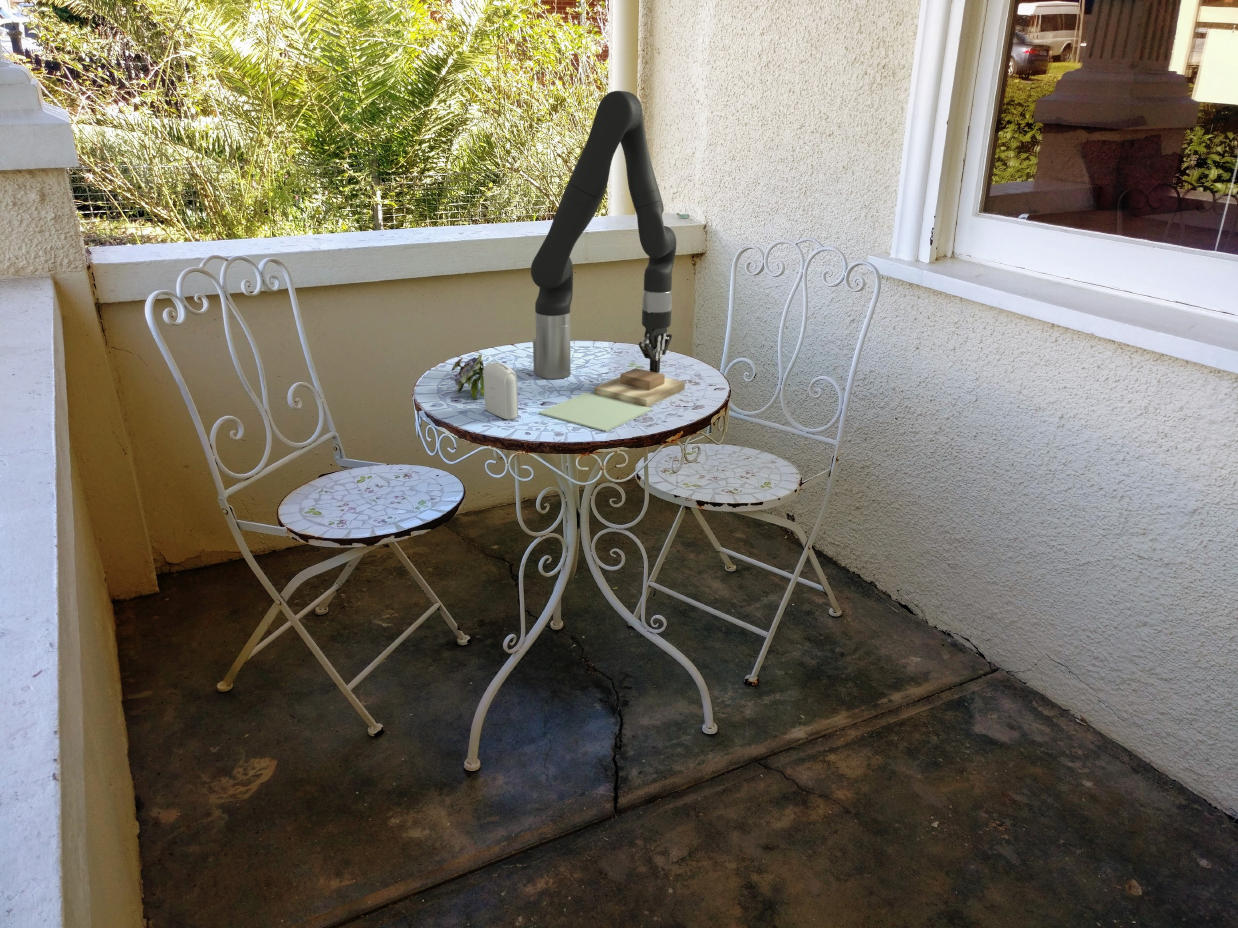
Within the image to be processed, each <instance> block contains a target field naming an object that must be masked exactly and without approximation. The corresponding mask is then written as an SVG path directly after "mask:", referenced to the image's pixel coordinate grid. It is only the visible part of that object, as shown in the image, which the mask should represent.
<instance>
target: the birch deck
mask: <svg viewBox="0 0 1238 928" xmlns="http://www.w3.org/2000/svg"><path fill="white" fill-rule="evenodd" d="M685 388H686V382H684V381H681V380H678V379H677V380H676V379H673V378H667V377H665V379H664V384H663V385H661V386H658V387H656V388H654V389H652V390H650V391H649V390H645V389H641V388H636V387H632V386H628V385H624V384H620V376H618V377H616V378H613V379H612V380H609V381H606V382H604V383H601V384H599V385H596V386H594V387H593V394H596V395H600V396H604V397H608V398H612V399H616V400H620V401H624V402H628V403H633V404H637V405H641V406H645V407H649V408H650V406H651V407H652V406H653V405H655V404H657V403H659V402H662V401H663V400H666V399H668V398H671V397H672V396H674V395H676V394H678V393H680V392H683V391H684V390H685Z"/></svg>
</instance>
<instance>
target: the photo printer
mask: <svg viewBox="0 0 1238 928" xmlns="http://www.w3.org/2000/svg"><path fill="white" fill-rule="evenodd" d="M483 379H484V408H485V410H486V411H488V412H489V413H491V414H493V415H495V416H497V417H499V418H502V419H504V420H514V419H516V418H517V417H518V416H519V400H518V399H519V397H518V377H517V374H516V373H515V371H514V370H513V369H512V368H510V367H509V366H507V364H504V363H502V362H497V361H494V362H489V363H487V364H485V365H484V370H483Z"/></svg>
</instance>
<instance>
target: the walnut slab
mask: <svg viewBox="0 0 1238 928" xmlns="http://www.w3.org/2000/svg"><path fill="white" fill-rule="evenodd" d="M665 375H666V374H663V373H660V372H659V373H655V372H651V371H650V370H646V369H641V368H632V369H629V370H627V371H626V372H623V373H621V374H620V375H619V377H620V384H624V385H628V386H632V387H636V388H641V389H645V390H649V391H650V390H652V389H654V388H656V387H658V386H661V385H663V384H664V379H665V378H666V377H665Z"/></svg>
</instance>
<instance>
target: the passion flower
mask: <svg viewBox="0 0 1238 928" xmlns="http://www.w3.org/2000/svg"><path fill="white" fill-rule="evenodd" d="M482 356H483V355H482V353H481V354H478V356H477V357H476V356H474V357H471V358H469V359H467V360H466V361H464V364H463V365H461V362H462V360H463V357H461V358H459V359H458V360H456V361H455V363H454V364H453V365H452V367H451V368H452V369H451V371H455V369H457V368H458V367H459V371H458V372H457V373H456V374H455V376H454V377H455V379H454V384H455V385H456V386H457V388H456V392H457V393H460V392H462V391H463V388H464V386H465V384H466V383H467V386H468V387H469V388H470V392H471V393H470V394H471V398H472V399H474V400H476V401H477V399H478V398H477V396H478V394H479V393H480V396H481V398H483V396H484V379H483V370H484V367H485V365H484V361H483V359H482ZM474 377H475V378H474ZM479 383H480V384H479ZM479 386H480V387H479ZM479 391H480V392H479Z"/></svg>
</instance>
